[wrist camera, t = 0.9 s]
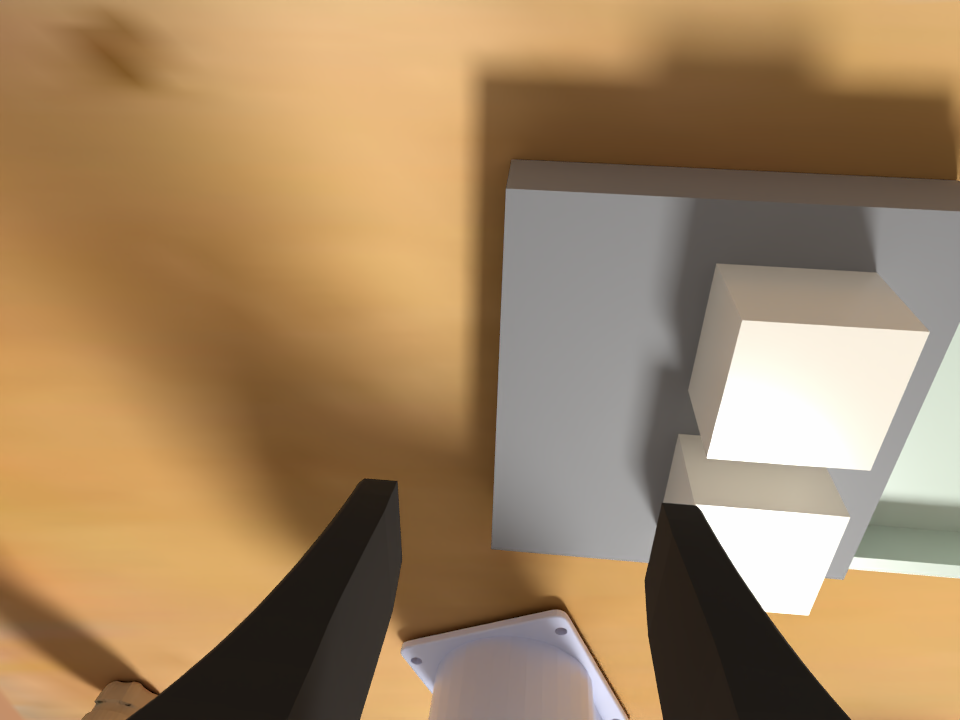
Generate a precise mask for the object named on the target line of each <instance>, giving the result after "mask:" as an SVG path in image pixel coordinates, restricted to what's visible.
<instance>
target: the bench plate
mask: <svg viewBox="0 0 960 720" xmlns="http://www.w3.org/2000/svg"><path fill="white" fill-rule="evenodd" d="M716 263H717V264H735V265H752V266H770V267H787V268H805V269H823V270H840V271H858V272H875V273H878V274H879V276H880V277H881V278H882V279H883V280H884V281H885V282H886V283H887V285H888V286H889V287H890V288H891V289H892V290H893V291H894V292H895V293H896V295H897V296H898V297H899V298H900V299H901V300H902V301H903V302H904V304H905V305H906V306H907V307H908V308H909V309H910V310H911V311H912V312H913V314H914V315H915V316H916V317H917V318H918V319H919V320H920V321H921V323H922V324H923V325H924V326H925V327H926V328H927V329H928V330H929V331H930V333H929V335H928V338H927V340H926V342H925V345H924V347H923V349H922V352H921V354H920V356H919V359H918V361H917V363H916V366H915V368H914V370H913V373H912V375H911V377H910V380H909V382H908V384H907V387H906V389H905V391H904V394H903V396H902V398H901V401H900V403H899V405H898V408H897V410H896V412H895V415H894V417H893V419H892V422H891V424H890V426H889V429H888V431H887V433H886V436H885V438H884V440H883V443H882V445H881V447H880V450H879V452H878V454H877V457H876V459H875V461H874V464H873V466H872V468H871V471H867V470H854V469H841V468H828V467H826V468H827V470H828V472H829V474H830V476H831V478H832V480H833V482H834V484H835V486H836V489H837V491H838V493H839V495H840V497H841V499H842V501H843V503H844V505H845V507H846V509H847V511H848V513H849V515H850V519H849V522H848V524H847V526H846V529H845V531H844V533H843V536H842V538H841V540H840V543H839V545H838V547H837V550H836V552H835V554H834V557H833V559H832V561H831V564H830V566H829V568H828V571H827V573H826V575H825V578H830V579H841V580H844V577H845V575H846V573H847V571H848V569H849V566H850V564H851V562H852V560H853V558H854V555H855V553H856V551H857V549H858V546H859V544H860V542H861V540H862V538H863V535H864V533H865V531H866V529H867V527H868V524H869V522H870V520H871V518H872V515H873V513H874V511H875V509H876V507H877V504H878V502H879V500H880V498H881V496H882V493H883V491H884V489H885V487H886V485H887V482H888V480H889V478H890V476H891V473H892V471H893V469H894V467H895V465H896V462H897V460H898V458H899V456H900V454H901V451H902V449H903V447H904V445H905V442H906V440H907V438H908V436H909V434H910V431H911V429H912V427H913V425H914V423H915V420H916V418H917V416H918V414H919V411H920V409H921V407H922V405H923V403H924V400H925V398H926V396H927V394H928V392H929V389H930V387H931V385H932V383H933V380H934V378H935V376H936V374H937V372H938V369H939V367H940V365H941V363H942V361H943V358H944V356H945V354H946V352H947V349H948V347H949V345H950V343H951V341H952V338H953V336H954V334H955V332H956V330H957V327H958V325H959V323H960V181H958V180H938V179H917V178H896V177H875V176H854V175H833V174H812V173H791V172H770V171H749V170H728V169H707V168H686V167H665V166H644V165H623V164H602V163H581V162H560V161H539V160H518V159H512V160H511V165H510V170H509V175H508V180H507V186H506V200H505V224H504V249H503V273H502V298H501V322H500V347H499V371H498V396H497V420H496V445H495V469H494V494H493V518H492V543H491V549H495V550H507V551H518V552H530V553H541V554H553V555H564V556H576V557H587V558H599V559H610V560H622V561H634V562H645V563H649V558H650V554H651V549H652V545H653V540H654V536H655V531H656V527H657V522H658V518H659V513H660V509H661V504H662V503H663V501H664V496H665V492H666V487H667V483H668V478H669V474H670V469H671V465H672V460H673V456H674V451H675V447H676V442H677V438H678V434H687V435H700V432H699V428H698V425H697V421H696V417H695V414H694V410H693V406H692V403H691V399H690V395H689V392H688V389H689V384H690V380H691V375H692V371H693V366H694V362H695V357H696V353H697V348H698V344H699V339H700V335H701V330H702V326H703V321H704V317H705V312H706V308H707V303H708V299H709V294H710V290H711V285H712V281H713V276H714V272H715V267H716ZM700 436H701V435H700Z"/></svg>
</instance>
